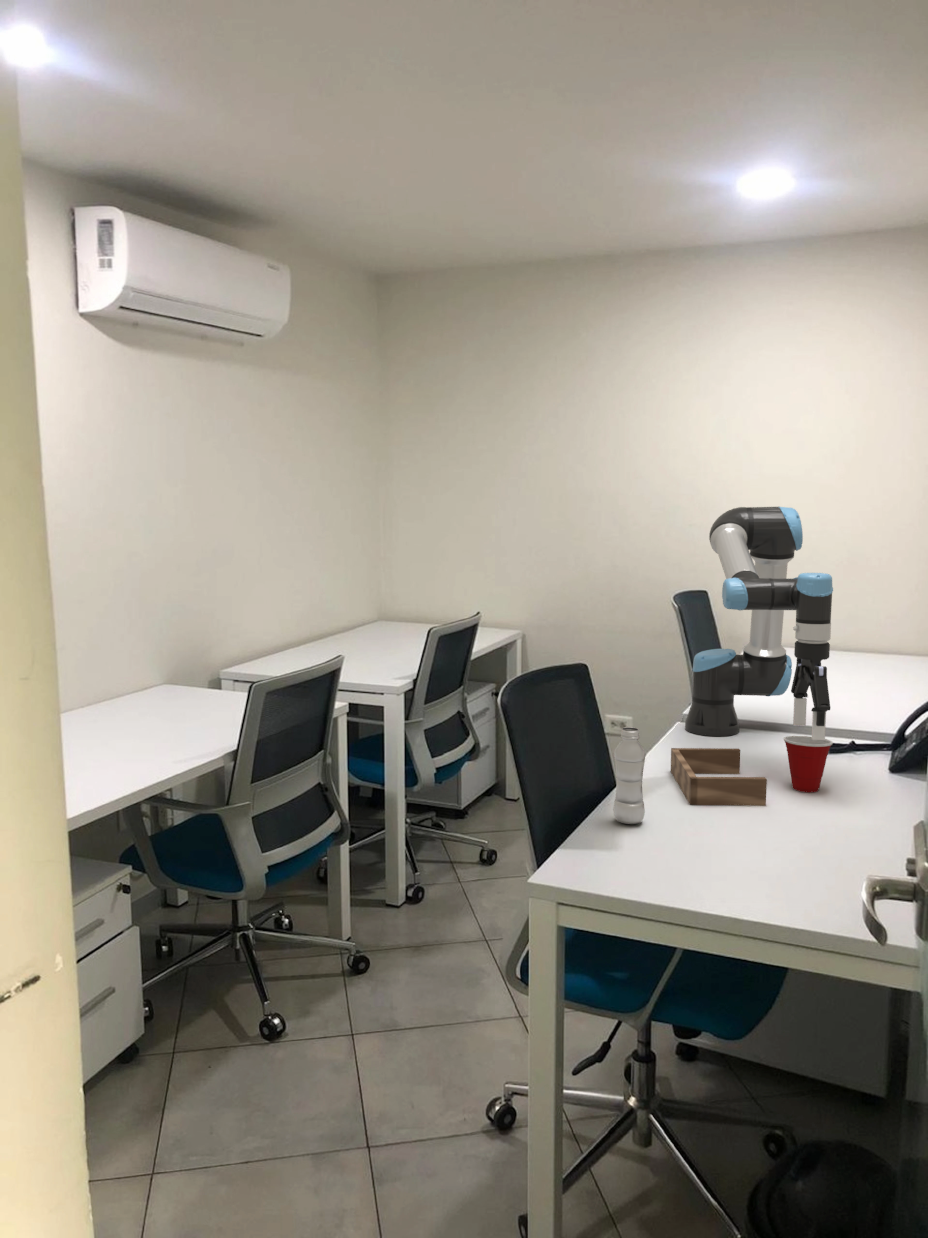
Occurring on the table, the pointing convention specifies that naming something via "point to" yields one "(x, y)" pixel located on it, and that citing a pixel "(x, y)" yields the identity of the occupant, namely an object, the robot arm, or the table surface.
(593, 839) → the table surface
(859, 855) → the table surface
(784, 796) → the table surface
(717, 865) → the table surface
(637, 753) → the plastic bottle
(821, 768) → the plastic cup
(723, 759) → the box
